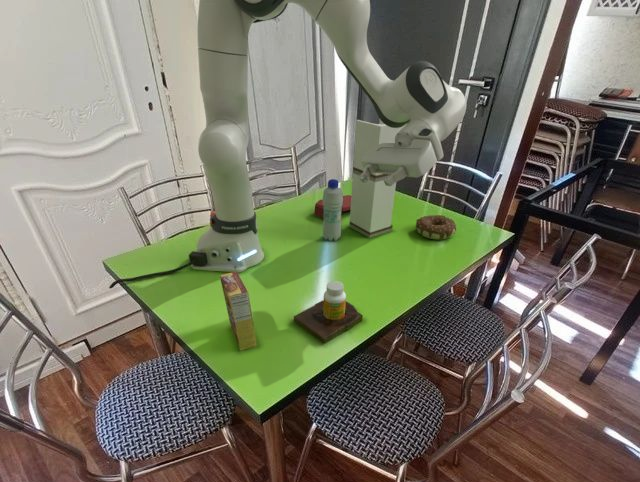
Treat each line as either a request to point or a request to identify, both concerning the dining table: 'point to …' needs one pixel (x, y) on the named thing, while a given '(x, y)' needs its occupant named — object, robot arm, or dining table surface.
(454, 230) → the donut
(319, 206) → the carton
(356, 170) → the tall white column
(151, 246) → the dining table surface
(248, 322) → the candy box
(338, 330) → the holder
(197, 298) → the dining table surface
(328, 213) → the bottle
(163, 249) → the dining table surface
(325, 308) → the supplement bottle
